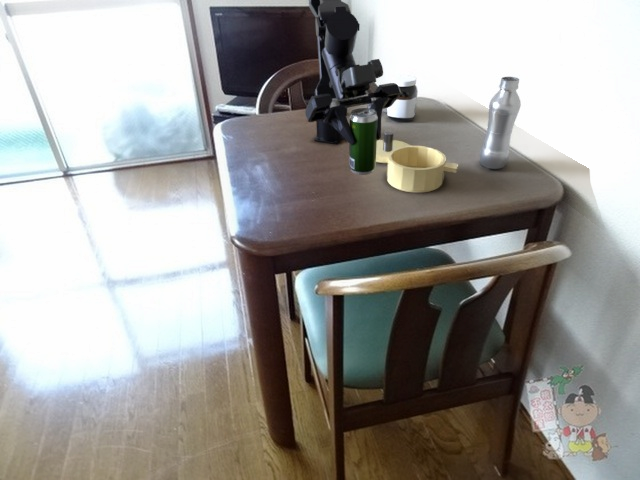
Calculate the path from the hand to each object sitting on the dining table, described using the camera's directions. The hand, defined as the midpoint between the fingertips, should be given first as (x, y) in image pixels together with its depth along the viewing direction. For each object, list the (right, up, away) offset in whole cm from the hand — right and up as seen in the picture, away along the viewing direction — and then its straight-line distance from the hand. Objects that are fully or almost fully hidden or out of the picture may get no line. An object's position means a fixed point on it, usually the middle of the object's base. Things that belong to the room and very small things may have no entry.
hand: (366, 141), depth 84 cm
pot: (+13, -5, +14) cm, 19 cm away
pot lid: (+8, +3, +25) cm, 27 cm away
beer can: (0, -5, +5) cm, 7 cm away
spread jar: (+14, +18, +48) cm, 53 cm away
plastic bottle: (+32, -2, +18) cm, 36 cm away
